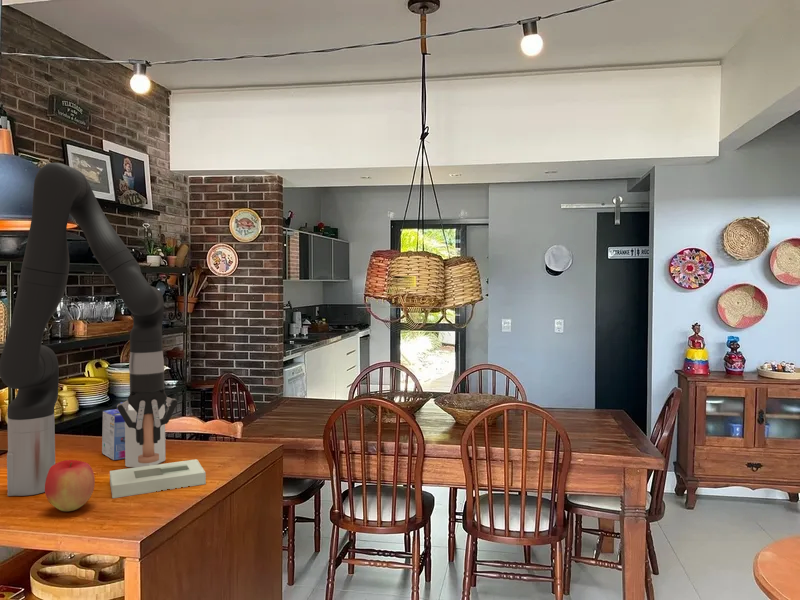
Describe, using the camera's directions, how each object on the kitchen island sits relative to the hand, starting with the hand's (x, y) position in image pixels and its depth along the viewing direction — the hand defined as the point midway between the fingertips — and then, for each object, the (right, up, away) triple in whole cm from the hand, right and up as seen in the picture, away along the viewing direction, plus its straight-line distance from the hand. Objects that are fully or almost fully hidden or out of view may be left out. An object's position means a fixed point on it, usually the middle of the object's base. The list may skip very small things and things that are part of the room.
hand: (148, 443), depth 141 cm
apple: (-10, -11, -15) cm, 21 cm away
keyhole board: (+2, -10, +1) cm, 10 cm away
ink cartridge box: (-19, -9, +24) cm, 32 cm away
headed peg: (0, -4, 0) cm, 4 cm away
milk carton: (-8, -10, +17) cm, 21 cm away
